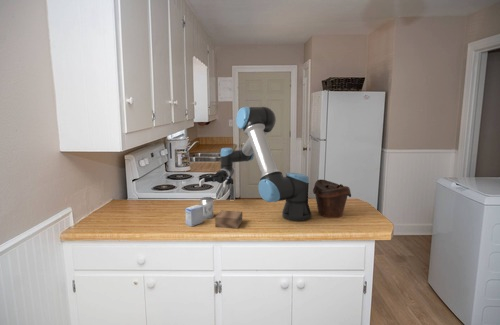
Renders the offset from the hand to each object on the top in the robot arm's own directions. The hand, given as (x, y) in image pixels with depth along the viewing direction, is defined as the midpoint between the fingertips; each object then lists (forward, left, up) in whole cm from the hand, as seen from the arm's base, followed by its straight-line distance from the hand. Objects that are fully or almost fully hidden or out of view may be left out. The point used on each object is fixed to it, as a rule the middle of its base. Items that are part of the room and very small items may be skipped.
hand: (211, 184), depth 189 cm
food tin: (0, +10, -15) cm, 18 cm away
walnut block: (-14, +18, -15) cm, 28 cm away
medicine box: (+3, +21, -16) cm, 26 cm away
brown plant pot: (-64, -8, -16) cm, 67 cm away
